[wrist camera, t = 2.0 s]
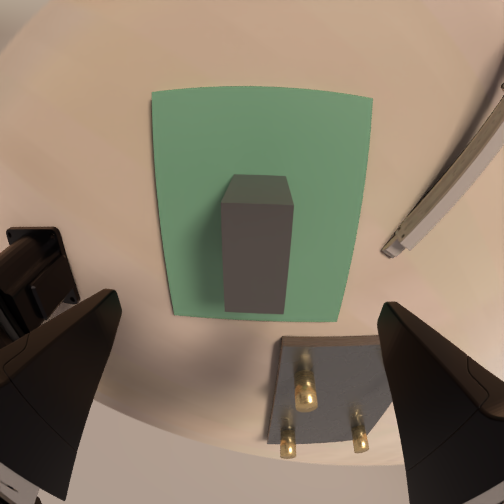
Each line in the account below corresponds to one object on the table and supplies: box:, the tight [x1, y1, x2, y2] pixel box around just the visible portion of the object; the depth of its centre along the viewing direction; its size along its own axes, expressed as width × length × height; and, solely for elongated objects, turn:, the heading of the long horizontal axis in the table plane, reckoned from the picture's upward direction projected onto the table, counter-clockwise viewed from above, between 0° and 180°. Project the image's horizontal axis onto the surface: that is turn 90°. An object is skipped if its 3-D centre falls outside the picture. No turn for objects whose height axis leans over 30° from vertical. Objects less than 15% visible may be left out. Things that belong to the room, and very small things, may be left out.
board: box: [152, 86, 373, 322], centre depth 14 cm, size 11×14×6 cm
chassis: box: [267, 335, 392, 459], centre depth 22 cm, size 12×18×4 cm, turn 179°
